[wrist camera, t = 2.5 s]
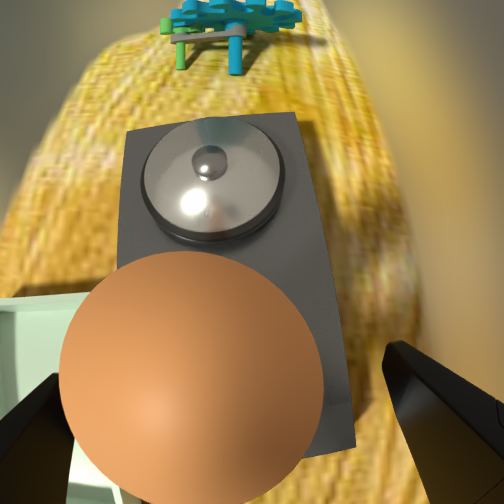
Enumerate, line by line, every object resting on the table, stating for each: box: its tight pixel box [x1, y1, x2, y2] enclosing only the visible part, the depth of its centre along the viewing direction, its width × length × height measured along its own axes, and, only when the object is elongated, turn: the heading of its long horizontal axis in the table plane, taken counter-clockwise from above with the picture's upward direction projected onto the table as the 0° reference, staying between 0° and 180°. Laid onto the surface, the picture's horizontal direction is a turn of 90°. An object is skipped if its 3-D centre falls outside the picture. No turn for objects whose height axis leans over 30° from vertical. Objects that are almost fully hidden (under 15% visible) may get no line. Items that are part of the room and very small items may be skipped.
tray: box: [0, 292, 142, 504], centre depth 13 cm, size 12×9×2 cm
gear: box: [160, 0, 302, 75], centre depth 21 cm, size 11×6×10 cm
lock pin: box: [59, 251, 324, 504], centre depth 9 cm, size 3×3×13 cm
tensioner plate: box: [117, 112, 356, 459], centre depth 15 cm, size 18×10×5 cm, turn 7°
